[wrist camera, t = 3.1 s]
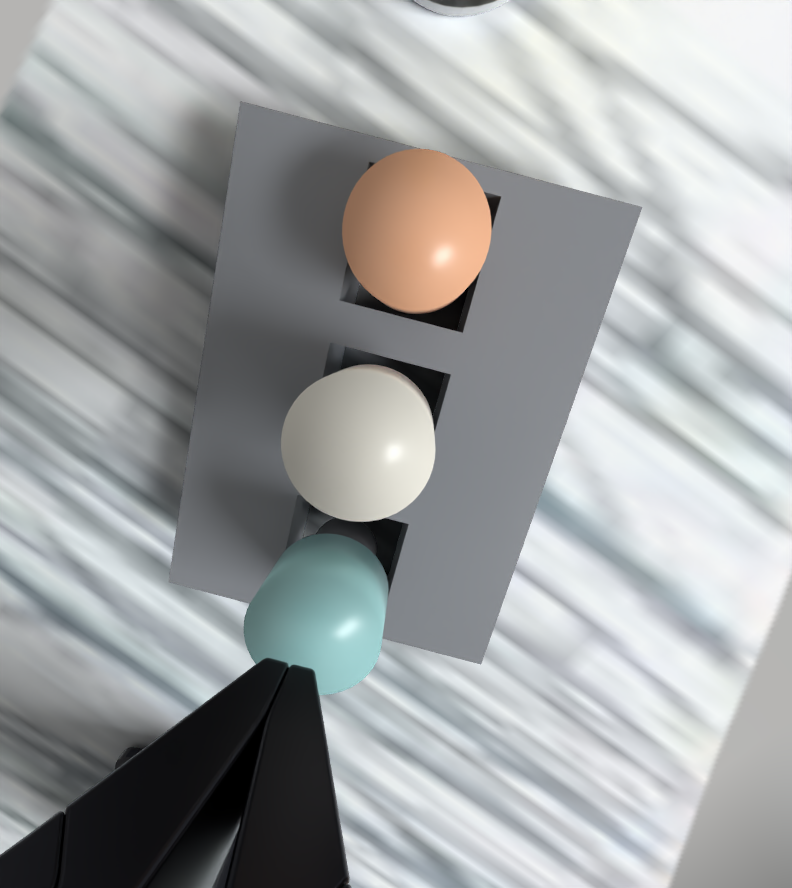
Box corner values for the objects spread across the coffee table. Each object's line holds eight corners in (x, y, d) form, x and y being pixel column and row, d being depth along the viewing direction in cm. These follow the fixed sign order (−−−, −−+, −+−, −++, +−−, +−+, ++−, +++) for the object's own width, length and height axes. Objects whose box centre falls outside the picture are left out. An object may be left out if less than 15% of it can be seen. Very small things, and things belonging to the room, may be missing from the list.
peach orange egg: (453, 328, 13) (467, 326, 9) (357, 302, 13) (328, 289, 9) (483, 223, 12) (510, 170, 8) (381, 195, 12) (361, 131, 8)
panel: (472, 613, 15) (481, 664, 13) (208, 543, 15) (168, 582, 13) (600, 231, 12) (642, 206, 10) (275, 145, 12) (240, 101, 10)
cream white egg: (416, 474, 13) (412, 538, 9) (316, 449, 13) (267, 500, 9) (444, 374, 12) (454, 393, 8) (339, 347, 12) (297, 352, 8)
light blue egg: (381, 601, 13) (363, 710, 10) (288, 577, 13) (233, 675, 10) (405, 514, 13) (397, 593, 9) (307, 489, 13) (257, 556, 9)
